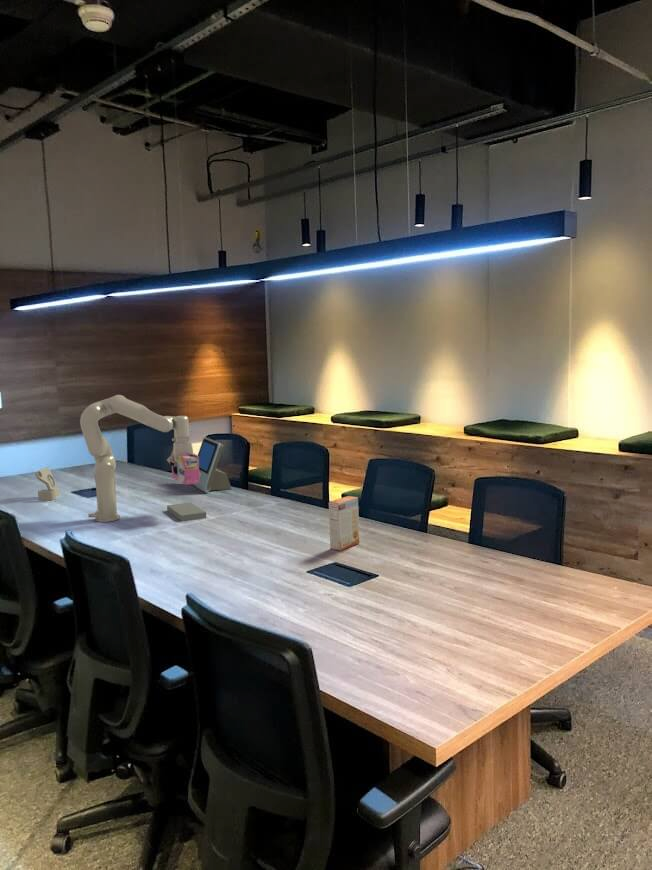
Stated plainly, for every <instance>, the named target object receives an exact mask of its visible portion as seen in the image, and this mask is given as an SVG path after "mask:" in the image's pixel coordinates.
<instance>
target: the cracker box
mask: <svg viewBox="0 0 652 870" xmlns="http://www.w3.org/2000/svg"><path fill="white" fill-rule="evenodd" d="M328 516H329V518H328V521H329V523H328V524H329V541H330V542H329V545H330V550H335V551H338V552H339V551H341V552H342V551H343V550H346V549H348V548H350V547H353V546H356V545H359V544H360V520H359V519H360V518H359V517H360V516H359V497H357V496H352V495H347V496H344V497H341V498H338V499H334V500H332V501H329V502H328Z"/></svg>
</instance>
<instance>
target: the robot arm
mask: <svg viewBox="0 0 652 870" xmlns="http://www.w3.org/2000/svg"><path fill="white" fill-rule="evenodd" d="M114 414H119V415H122V416H124V417H126V418H129V419H132V420H134V421H136V422H138V423H140V424H143V425H144V426H147V427H149V428H152V429H155V430H157V431H159V432H162V433H168V432H170V431H171V430H173V435H174V436H173V438H171V441H172V442H173V444H172V445H173V446H172V453H173V455H171V454H170V456H169V457H168V458H167V459H166V461H167V462H168V463H169V465H170V466H171V467H172V466H173V472H174V474H177V467H176V465H177V463H176V462H177V455H178V456H191V454H192V455H195V456H197V457H198V458H199V456H198V454H196V453H194V448H193V444H192V442H191V441H190V427H189V417H188V416H187V415H177V416H171V415H165V416H164V415H161V414H158V413H156V412H154V411H152V410H150V409H149V408H148V407H146V406H145V405H143V404H140V403H139V402H136V401H133V400H131V399H128V398H127V397H125V396H124V395H121V394H115V395H114V396H110V397H108V398H105V399H103V400H98V401H96V402H93V403H91V404H90V405H88V406H87V407H86V408H85V409H84V410H83V412H82V413H81V416H80V419H79V424H80V429H81V432H82V435H83V438H84V441H85V444H86V447H87V450H88V453H89V454H90V455H91V456H92V457H94V460H95V464H94V466H93V467H94V468H93V473H94V482H95V493H96V507H97V510H96V511H95V512H93V513H88V514H87V515H88V518H94V520H95V522H100V523H106V522H107V523H108V522H109V523H110V522H115V521H119V520H120V519H121V515H120V514H118V508H117V507H118V506H117V504H118V503H117V491H116V480H115V479H116V478H115V470H116V467H117V462H116V459H115V456H114V453H113V450H112V448H111V445H110V442H109V441H108V440H107V438H106V437H103V434H102V431H101V429H100V426H99V420H101V419H102V418H105V417H108V416H111V415H114ZM172 458H173V461H174V462H173V463H172Z"/></svg>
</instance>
